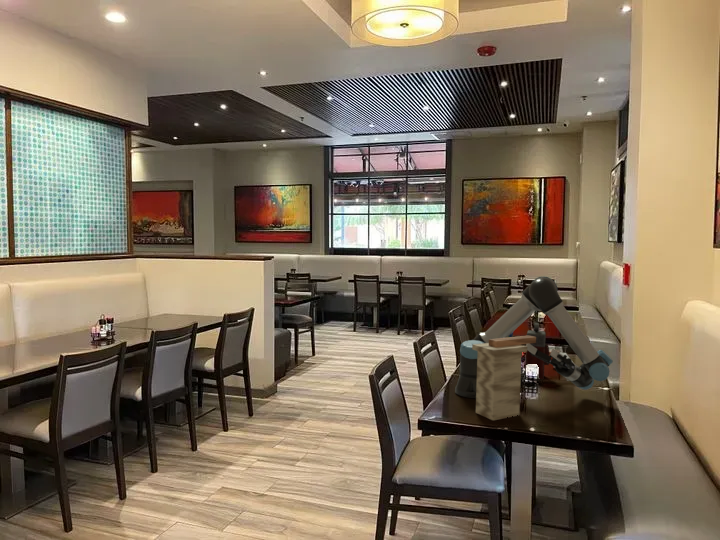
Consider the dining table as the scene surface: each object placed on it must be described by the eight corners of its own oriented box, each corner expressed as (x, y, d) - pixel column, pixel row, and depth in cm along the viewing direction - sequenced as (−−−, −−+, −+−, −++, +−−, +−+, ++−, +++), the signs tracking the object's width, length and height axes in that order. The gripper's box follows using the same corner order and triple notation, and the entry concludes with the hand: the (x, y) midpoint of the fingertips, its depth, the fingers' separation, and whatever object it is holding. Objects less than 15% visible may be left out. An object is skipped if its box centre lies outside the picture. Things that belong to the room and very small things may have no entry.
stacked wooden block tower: (470, 412, 208) (472, 344, 207) (503, 406, 217) (505, 340, 215) (490, 422, 198) (493, 350, 196) (524, 415, 206) (527, 346, 205)
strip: (488, 345, 206) (488, 339, 205) (528, 341, 216) (528, 335, 216) (495, 347, 202) (495, 341, 202) (535, 342, 212) (536, 337, 212)
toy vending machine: (548, 380, 259) (550, 325, 257) (525, 377, 263) (527, 323, 261) (548, 376, 267) (550, 322, 266) (526, 373, 271) (528, 321, 270)
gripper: (589, 384, 214) (559, 363, 204) (541, 370, 235) (513, 350, 226) (595, 368, 215) (566, 346, 206) (548, 355, 237) (520, 335, 227)
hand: (538, 348), depth 216 cm, fingers open, 13 cm apart
